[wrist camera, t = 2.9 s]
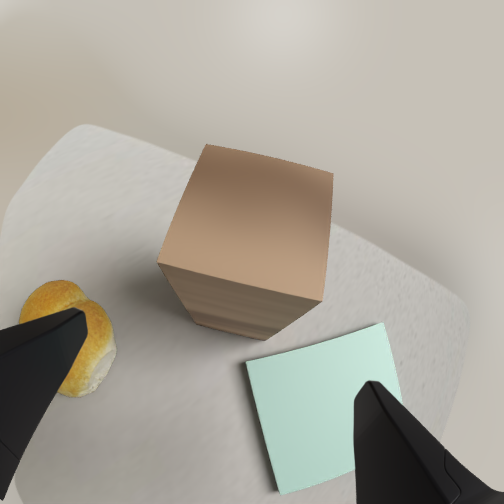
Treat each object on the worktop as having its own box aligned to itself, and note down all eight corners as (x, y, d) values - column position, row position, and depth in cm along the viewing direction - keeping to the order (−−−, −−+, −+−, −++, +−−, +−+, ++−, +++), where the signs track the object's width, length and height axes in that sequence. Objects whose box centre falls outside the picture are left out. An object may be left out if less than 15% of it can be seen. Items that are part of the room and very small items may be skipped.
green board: (403, 439, 16) (408, 441, 15) (278, 491, 14) (280, 495, 13) (378, 323, 20) (383, 321, 19) (245, 361, 18) (245, 361, 17)
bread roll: (62, 271, 19) (37, 252, 16) (135, 331, 18) (115, 322, 14) (20, 344, 16) (-8, 336, 12) (87, 414, 15) (60, 420, 11)
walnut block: (265, 340, 19) (322, 301, 8) (196, 324, 19) (156, 261, 8) (278, 276, 21) (333, 173, 10) (214, 261, 21) (206, 144, 10)
